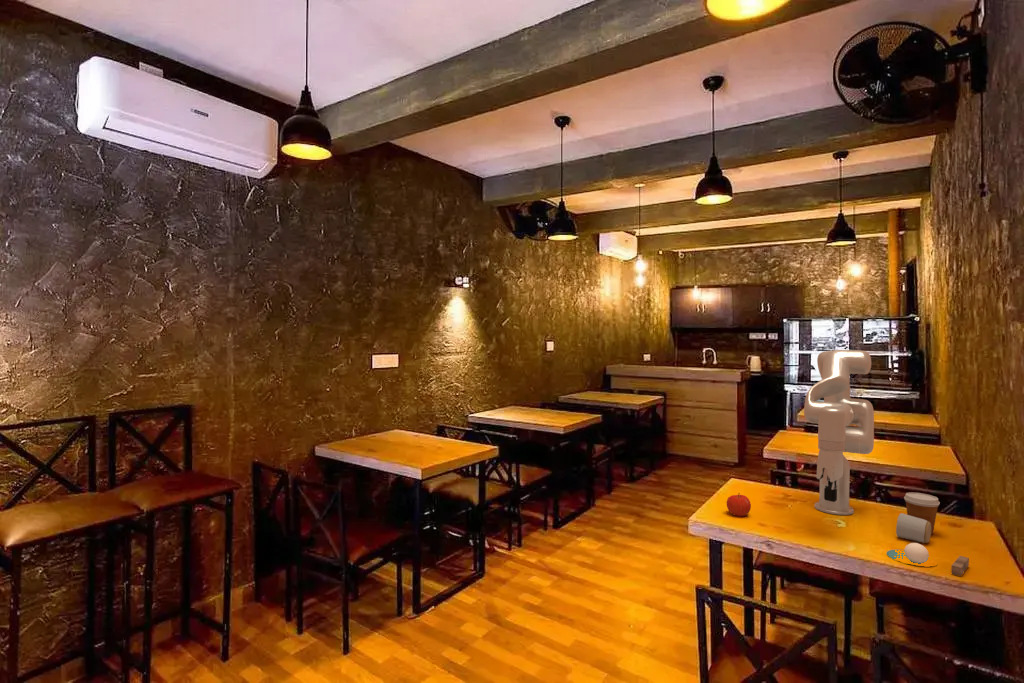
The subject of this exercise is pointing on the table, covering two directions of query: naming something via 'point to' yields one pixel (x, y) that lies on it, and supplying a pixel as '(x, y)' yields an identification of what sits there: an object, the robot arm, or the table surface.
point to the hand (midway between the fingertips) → (830, 500)
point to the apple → (738, 505)
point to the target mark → (894, 554)
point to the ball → (916, 553)
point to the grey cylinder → (913, 528)
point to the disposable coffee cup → (922, 507)
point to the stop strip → (960, 565)
